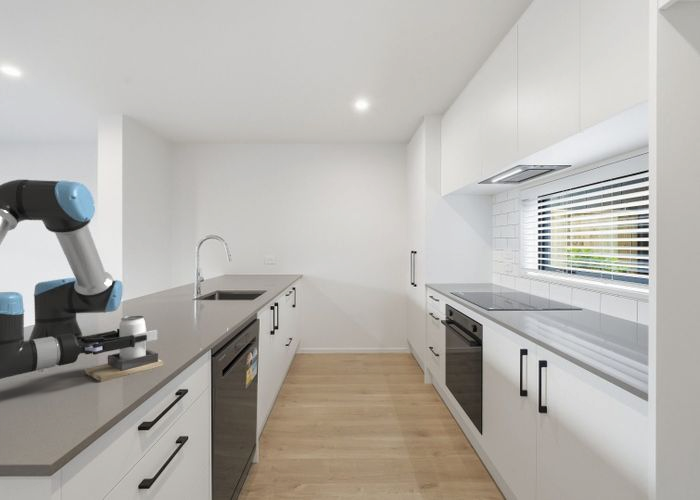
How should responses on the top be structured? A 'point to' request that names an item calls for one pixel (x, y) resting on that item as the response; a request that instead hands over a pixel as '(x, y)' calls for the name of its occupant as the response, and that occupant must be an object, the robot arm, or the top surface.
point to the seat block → (124, 366)
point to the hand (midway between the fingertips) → (151, 332)
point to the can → (127, 329)
